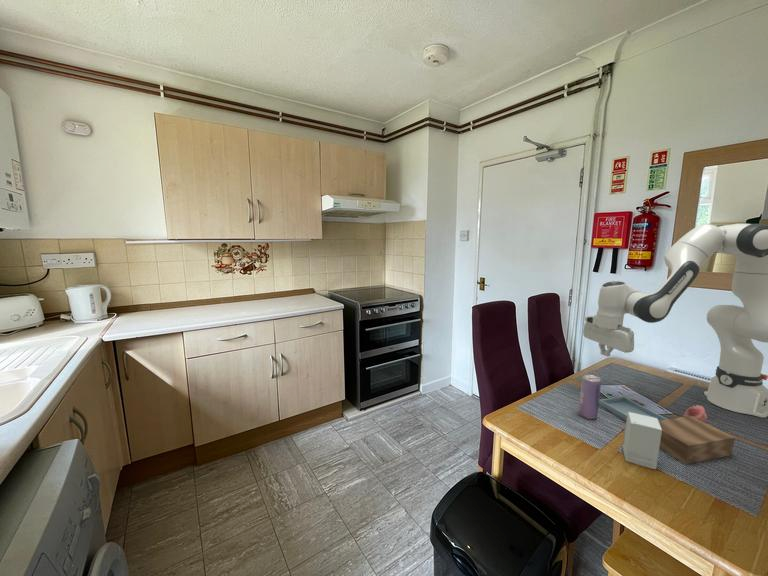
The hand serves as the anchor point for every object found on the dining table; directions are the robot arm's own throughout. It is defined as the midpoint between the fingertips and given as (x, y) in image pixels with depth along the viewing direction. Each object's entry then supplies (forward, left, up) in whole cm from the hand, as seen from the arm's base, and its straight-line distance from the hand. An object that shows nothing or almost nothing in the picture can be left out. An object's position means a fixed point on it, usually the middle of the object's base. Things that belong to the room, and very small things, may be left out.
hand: (605, 355), depth 130 cm
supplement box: (+20, +33, -19) cm, 43 cm away
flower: (-18, +22, -19) cm, 34 cm away
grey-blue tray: (0, +15, -19) cm, 24 cm away
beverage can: (+16, +10, -19) cm, 27 cm away
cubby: (0, +32, -19) cm, 37 cm away
